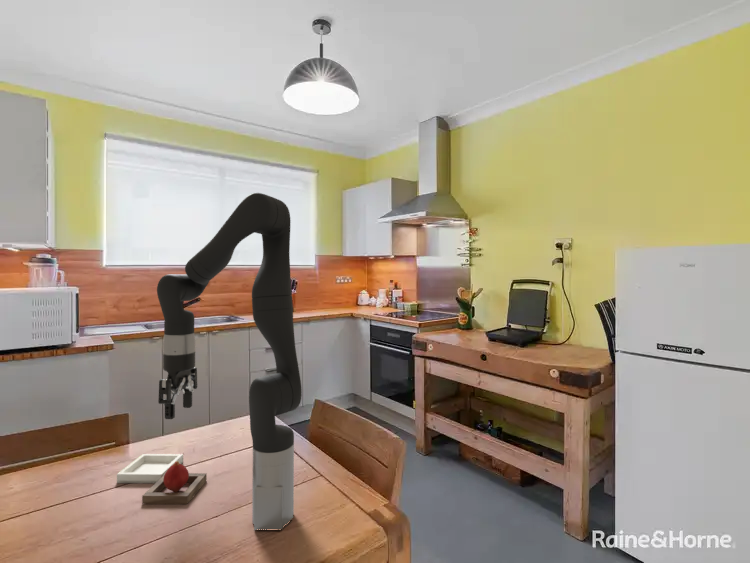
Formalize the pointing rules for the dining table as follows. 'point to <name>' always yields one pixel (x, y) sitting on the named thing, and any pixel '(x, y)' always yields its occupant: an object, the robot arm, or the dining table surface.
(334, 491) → the dining table surface
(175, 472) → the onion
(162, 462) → the tray
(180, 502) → the frame
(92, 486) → the dining table surface
